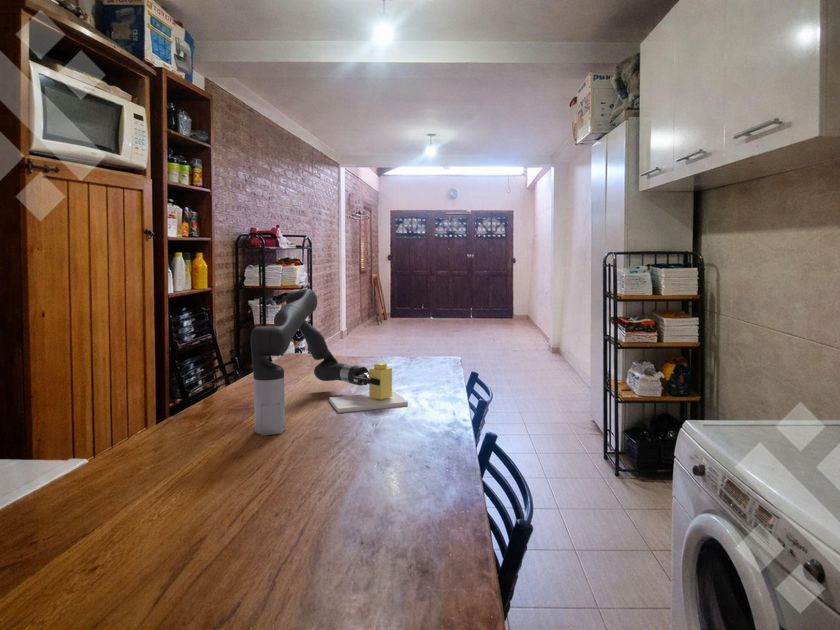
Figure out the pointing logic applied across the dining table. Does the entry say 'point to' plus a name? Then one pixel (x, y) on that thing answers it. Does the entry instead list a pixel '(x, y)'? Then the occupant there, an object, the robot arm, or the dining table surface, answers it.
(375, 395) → the tall yellow stud brick
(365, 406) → the plate
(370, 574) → the dining table surface
